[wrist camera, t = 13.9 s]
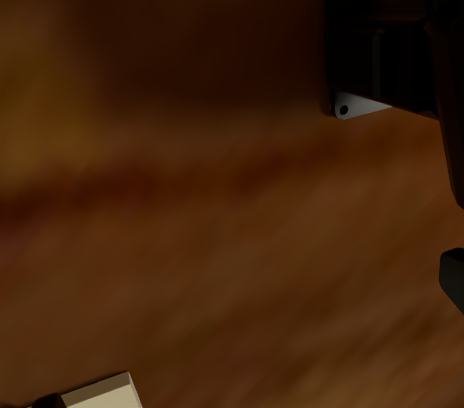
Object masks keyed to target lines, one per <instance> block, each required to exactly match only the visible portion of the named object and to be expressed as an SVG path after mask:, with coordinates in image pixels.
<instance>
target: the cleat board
mask: <svg viewBox="0 0 464 408" xmlns="http://www.w3.org/2000/svg"><path fill="white" fill-rule="evenodd" d="M61 397H62V399H63V401H64V403H65V405H66V407H67V408H142V405H141V403H140V400H139V397H138V395H137V392H136V390H135V387H134V384H133V382H132V379H131V376H130V374H129V371H127V372H125V373H122V374H119V375H116V376H114V377H111V378H108V379H105V380H102V381H100V382H97V383H94V384H91V385H89V386H86V387H83V388H80V389H78V390H75V391H72V392H69V393H67V394H64V395H61ZM31 407H32V406H31ZM31 407H28V408H31Z"/></svg>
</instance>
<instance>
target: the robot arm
mask: <svg viewBox="0 0 464 408" xmlns="http://www.w3.org/2000/svg"><path fill="white" fill-rule="evenodd" d="M325 14H326V30H325V32H324V44H325V60H326V76H327V84H328V85H329V86H330V98H331V112H332V115H333V116H334V117H336V118H338V119H341V120H344V119H348V118H352V117H355V116H359V115H363V114H367V113H370V112H374V111H378V110H382V109H385V108H389V107H396V108H399V109H402V110H405V111H409V112H412V113H415V114H419V115H422V116H425V117H429V118H432V119H435V120H438V121H440V127H441V132H442V138H443V144H444V150H445V156H446V162H447V167H448V173H449V179H450V185H451V190H452V193H453V195H454V197H455V200H456V202H457V204H458V205H459V206H460V207H461V208H462V209H463V210H464V0H325ZM343 105H344V110H343V112H342V113H340V108H341V106H343ZM439 283H440V286H441V288H442V289H443V291H444V292H445V293H446V294H447V296H448V297H449V298H450V299H451V300H452V301H453V303H454V304H455V305H456V306H457V307H458V309H459V310H460V311H461V312H462V313H463V315H464V249H463V248H454V249H451V250H448V251H446V252H444V253H442V255H441V257H440V270H439ZM31 408H67V407H66V405H65V403H64V401H63V399H62V397H61V395H60V394H59V393H52V394H49V395H47V396H44V397H41V398H39V399H37V400H36V401H35V402H34V404H33V405H32V407H31Z"/></svg>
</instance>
